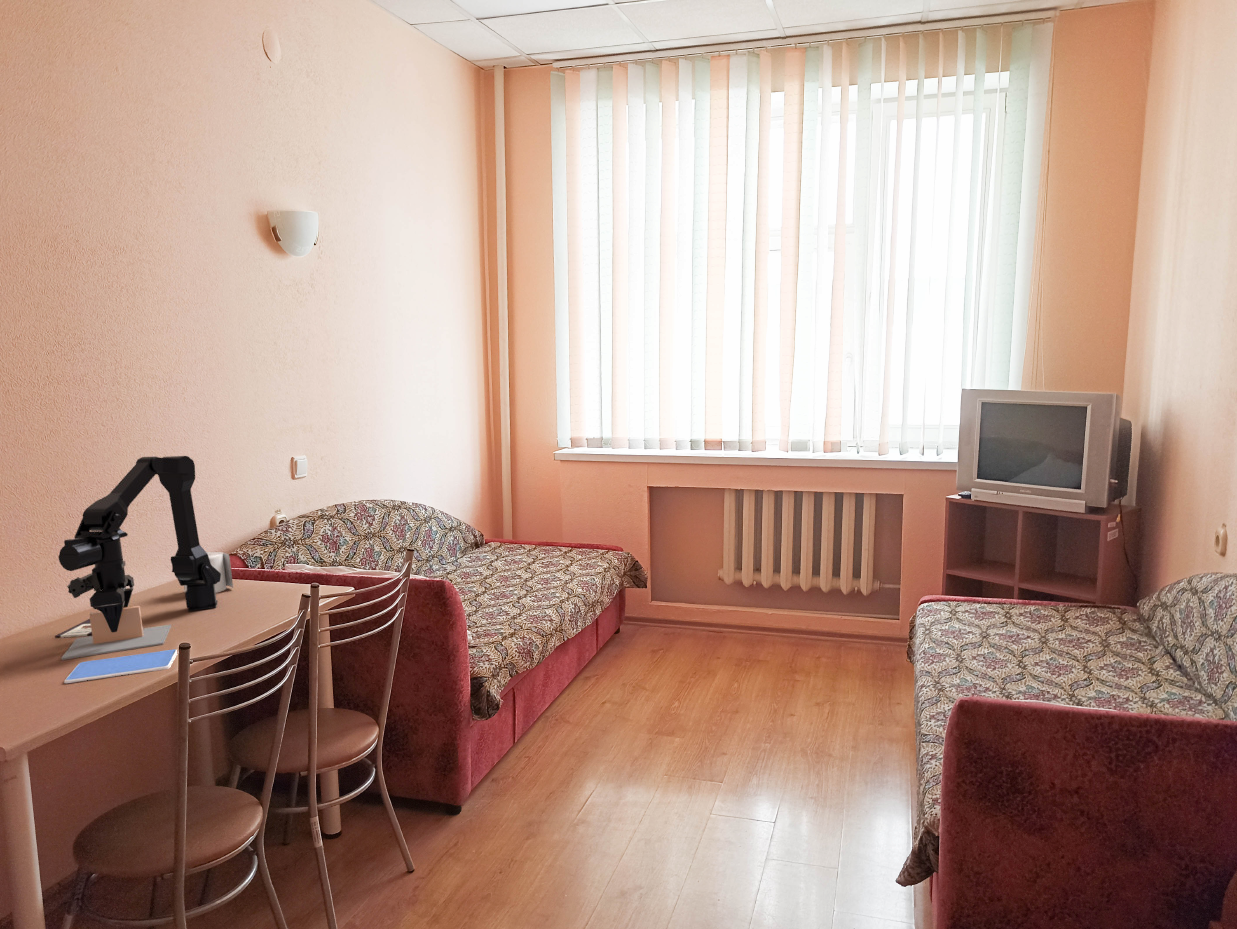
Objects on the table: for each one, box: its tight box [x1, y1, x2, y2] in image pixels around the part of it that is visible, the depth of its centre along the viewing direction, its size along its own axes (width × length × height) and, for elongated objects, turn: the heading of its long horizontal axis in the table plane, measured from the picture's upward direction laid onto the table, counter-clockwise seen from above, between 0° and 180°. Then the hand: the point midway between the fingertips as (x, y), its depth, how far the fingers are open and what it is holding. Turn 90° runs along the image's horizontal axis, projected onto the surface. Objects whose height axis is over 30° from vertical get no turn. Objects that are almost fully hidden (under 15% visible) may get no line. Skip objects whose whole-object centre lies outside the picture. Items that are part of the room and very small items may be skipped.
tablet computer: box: [63, 649, 178, 684], centre depth 189 cm, size 19×13×1 cm, turn 108°
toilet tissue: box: [183, 551, 234, 594], centre depth 252 cm, size 11×12×10 cm
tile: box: [88, 605, 144, 644], centre depth 208 cm, size 10×2×7 cm, turn 110°
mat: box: [60, 624, 172, 661], centre depth 208 cm, size 20×16×1 cm
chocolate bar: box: [54, 618, 92, 639], centre depth 224 cm, size 9×1×18 cm
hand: (117, 626), depth 208 cm, fingers open, 9 cm apart
